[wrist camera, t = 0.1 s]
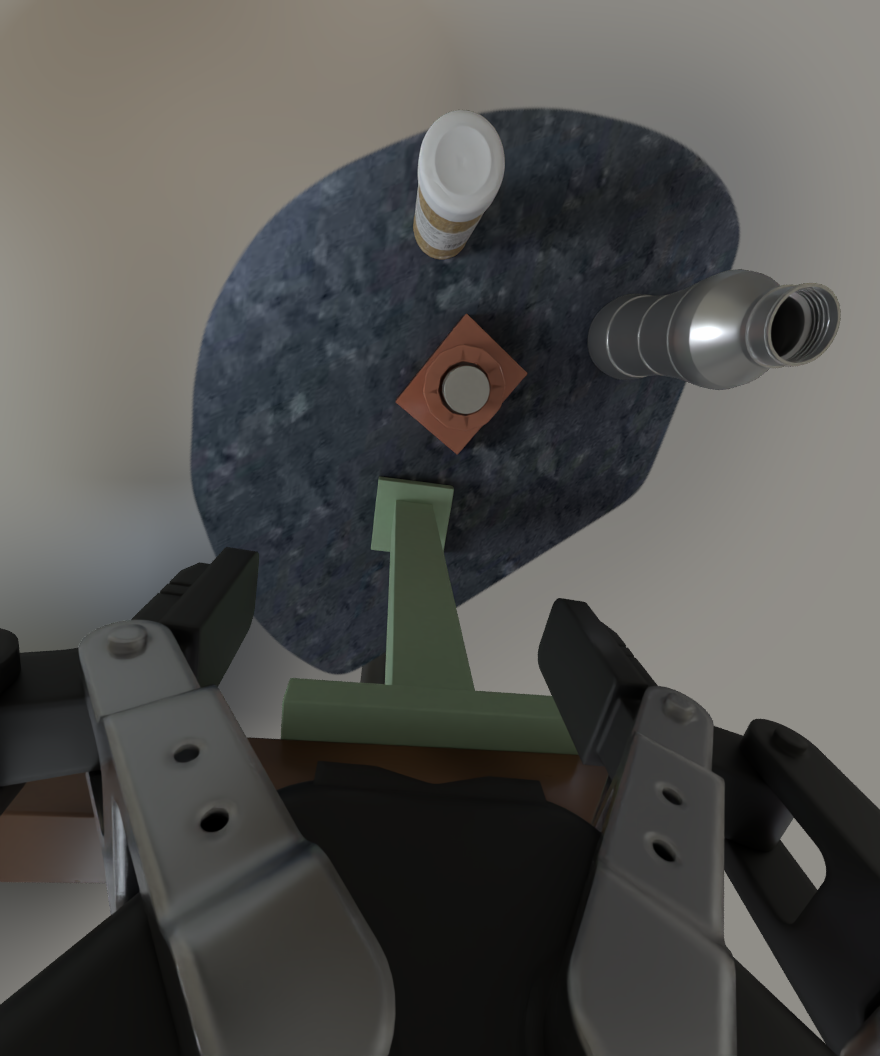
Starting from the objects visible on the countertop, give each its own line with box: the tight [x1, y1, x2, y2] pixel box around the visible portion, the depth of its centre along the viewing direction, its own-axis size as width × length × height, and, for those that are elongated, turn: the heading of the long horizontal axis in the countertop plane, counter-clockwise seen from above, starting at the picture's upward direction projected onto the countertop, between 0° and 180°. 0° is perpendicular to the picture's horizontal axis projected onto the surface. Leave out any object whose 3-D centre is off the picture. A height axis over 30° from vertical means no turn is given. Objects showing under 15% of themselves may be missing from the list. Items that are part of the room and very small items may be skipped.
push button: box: [442, 365, 490, 414], centre depth 36 cm, size 4×4×2 cm
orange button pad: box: [396, 314, 527, 454], centre depth 39 cm, size 9×7×4 cm
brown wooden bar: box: [0, 738, 608, 883], centre depth 15 cm, size 21×3×3 cm, turn 81°
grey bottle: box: [588, 269, 841, 390], centre depth 31 cm, size 6×7×20 cm
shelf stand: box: [281, 477, 579, 755], centre depth 31 cm, size 11×7×30 cm, turn 81°
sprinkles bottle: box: [413, 110, 505, 259], centre depth 30 cm, size 5×5×13 cm
